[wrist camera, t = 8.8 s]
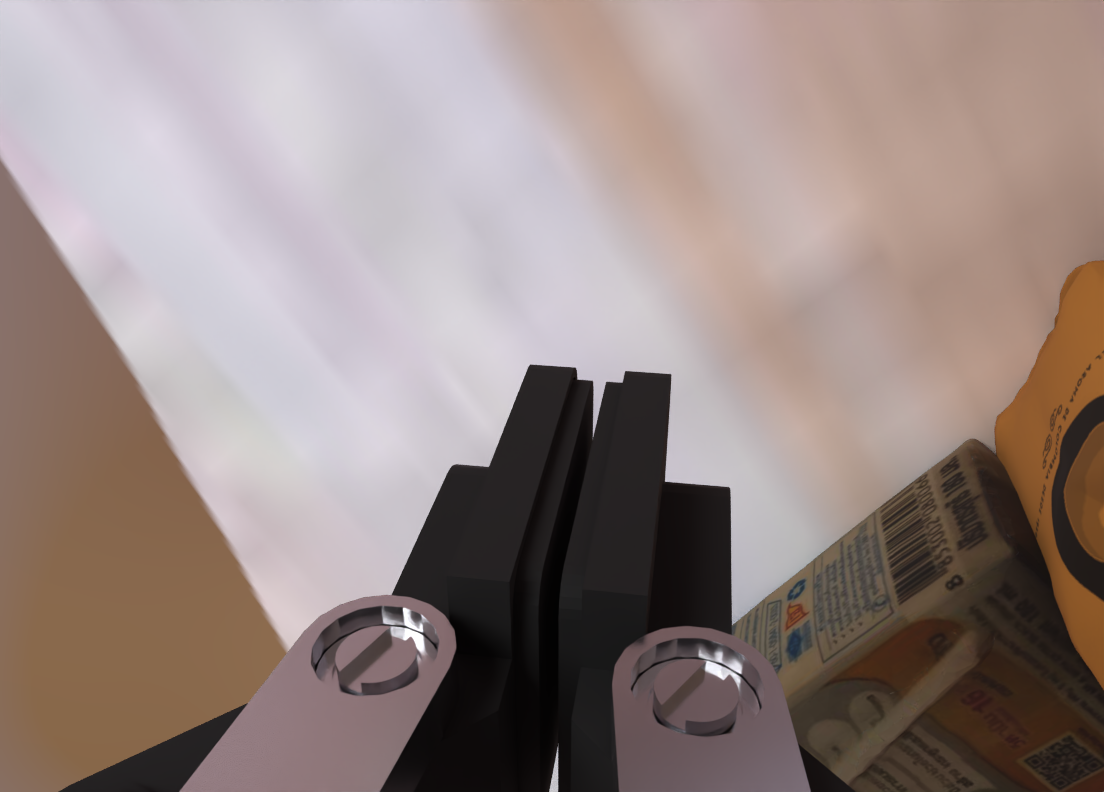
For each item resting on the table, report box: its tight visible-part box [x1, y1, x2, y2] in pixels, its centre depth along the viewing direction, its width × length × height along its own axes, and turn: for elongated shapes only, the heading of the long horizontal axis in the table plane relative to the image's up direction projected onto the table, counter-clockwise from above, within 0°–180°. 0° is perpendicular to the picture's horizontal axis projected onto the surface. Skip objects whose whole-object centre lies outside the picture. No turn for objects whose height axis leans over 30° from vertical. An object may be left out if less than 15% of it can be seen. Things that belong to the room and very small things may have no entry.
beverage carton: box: [732, 439, 1104, 792], centre depth 30 cm, size 8×19×7 cm, turn 141°
